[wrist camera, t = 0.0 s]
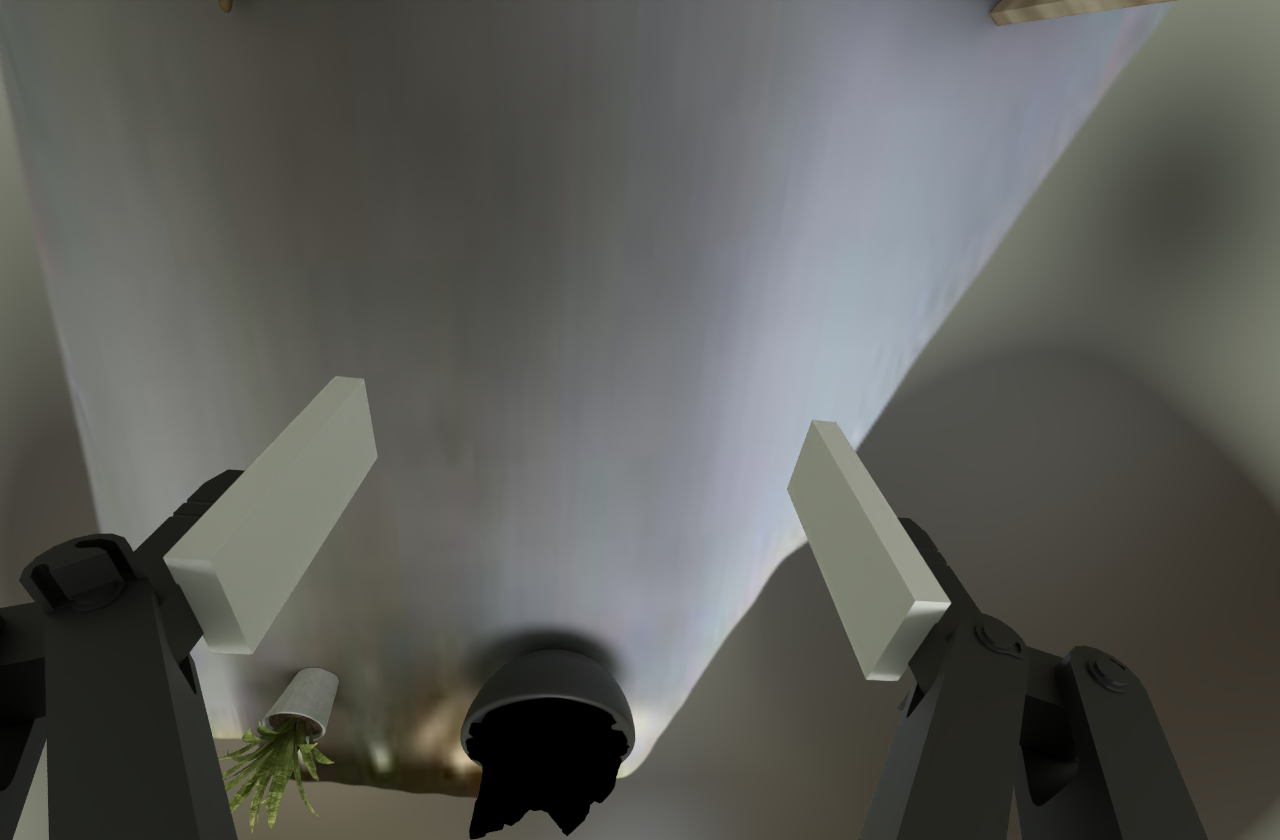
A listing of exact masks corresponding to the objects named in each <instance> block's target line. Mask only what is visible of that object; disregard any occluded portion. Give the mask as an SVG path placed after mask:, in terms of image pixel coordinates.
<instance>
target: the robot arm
mask: <svg viewBox="0 0 1280 840" xmlns="http://www.w3.org/2000/svg"><path fill="white" fill-rule="evenodd" d="M376 459H377V451H376V445H375V440H374V434H373V428H372V423H371V417H370V411H369V405H368V400H367V394H366V388H365V382H364V379H360V378H349V377H338V376H335V377H334V378H333V379H332V380H331V381H330V382H329V383H328V384H327V385H326V387H325V388H324V389H323V390H322V391H321V392H320V393H319V394H318V395H317V396H316V397H315V398H314V399H313V400H312V401H311V402H310V403H309V404H308V405H307V406H306V408H305V409H304V410H303V411H302V412H301V413H300V414H299V415H298V416H297V417H296V418H295V419H294V420H293V421H292V422H291V423H290V424H289V425H288V426H287V428H286V429H285V430H284V431H283V432H282V433H281V434H280V435H279V436H278V437H277V438H276V439H275V440H274V441H273V442H272V443H271V444H270V445H269V446H268V448H267V449H266V450H265V451H264V452H263V453H262V454H261V455H260V456H259V457H258V458H257V459H256V460H255V461H254V462H253V463H252V464H251V465H250V466H249V467H248V469H247V470H246V471H242V470H227V471H225V472H223V473H221V474H219V475H218V476H216V477H214V478H212V479H211V480H209V481H207V482H205V483H204V484H203V485H202V486H201V487H200V488H199V489H198V490H197V491H196V492H195V493H194V494H193V495H191V496H190V497H189V498H188V499H187V503H183V504H182V505H181V506H180V507H179V508H178V509H177V510H176V511H175V512H174V513H173V514H174V515H173V517H169V518H168V519H167V520H166V521H165V522H164V523H163V524H162V525H161V526H160V527H159V528H158V529H157V530H156V531H155V532H154V533H153V534H152V535H151V536H150V537H148V538H147V539H146V540H145V541H144V542H143V543H142V544H141V545H140V546H139V547H138V548H137V549H136V550H135V551H134V552H133V550H132V548H131V547H130V545H129V543H128V542H127V541H126V539H125V538H124V537H121V536H118V535H115V534H92V535H88V536H83V537H79V538H74V539H72V540H69V541H67V542H64V543H61V544H59V545H56V546H54V547H52V548H51V549H49V550H47V551H46V552H44V553H42V554H41V555H39V556H37V557H36V558H35V559H34V560H33V561H32V562H31V563H30V564H29V565H28V566H27V567H26V568H24V570H23V572H22V575H21V577H20V580H19V581H20V583H21V584H22V585H23V586H24V588H25V589H26V590H27V592H28V593H29V594H30V596H31V597H32V598H33V600H34V601H35V602H33V603H27V604H21V605H15V606H9V607H4V608H0V840H12V839H13V836H14V833H15V830H16V827H17V824H18V821H19V818H20V816H21V812H22V810H23V807H24V804H25V801H26V797H27V795H28V792H29V789H30V786H31V783H32V780H33V777H34V774H35V771H36V768H37V765H38V762H39V759H40V756H41V753H42V750H43V747H44V745H45V742H46V739H47V772H48V811H49V812H48V816H49V840H238V839H237V835H236V831H235V827H234V822H233V818H232V814H231V810H230V806H229V802H228V798H227V794H226V790H225V786H224V782H223V777H222V774H221V769H220V765H219V761H218V757H217V753H216V749H215V745H214V741H213V737H212V732H211V728H210V724H209V720H208V716H207V712H206V708H205V704H204V700H203V696H202V692H201V688H200V683H199V679H198V675H197V671H196V667H195V663H194V660H193V659H192V657H191V655H190V651H191V650H192V649H193V647H194V646H195V645H196V643H197V642H198V641H199V639H200V638H201V637H202V635H203V637H204V639H205V641H206V642H207V644H208V646H209V648H210V650H211V652H212V653H229V654H253V653H254V651H255V649H256V648H257V646H258V645H259V643H260V642H261V640H262V638H263V637H264V635H265V634H266V632H267V631H268V629H269V627H270V626H271V624H272V623H273V621H274V619H275V618H276V616H277V615H278V613H279V612H280V610H281V608H282V607H283V605H284V604H285V602H286V601H287V599H288V597H289V596H290V594H291V593H292V591H293V590H294V588H295V586H296V585H297V583H298V582H299V580H300V579H301V577H302V575H303V574H304V572H305V571H306V569H307V568H308V566H309V564H310V563H311V561H312V560H313V558H314V556H315V555H316V553H317V552H318V550H319V549H320V547H321V545H322V544H323V542H324V541H325V539H326V538H327V536H328V534H329V533H330V531H331V530H332V528H333V527H334V525H335V523H336V522H337V520H338V519H339V517H340V516H341V514H342V512H343V511H344V509H345V508H346V506H347V505H348V503H349V501H350V500H351V498H352V497H353V495H354V493H355V492H356V490H357V489H358V487H359V486H360V484H361V482H362V481H363V479H364V478H365V476H366V475H367V473H368V471H369V470H370V468H371V467H372V465H373V464H374V462H375V460H376ZM787 490H788V493H789V495H790V497H791V500H792V502H793V505H794V507H795V509H796V512H797V514H798V517H799V519H800V521H801V524H802V526H803V529H804V531H805V534H806V536H807V538H808V541H809V543H810V546H811V548H812V550H813V553H814V555H815V557H816V560H817V562H818V565H819V567H820V570H821V572H822V574H823V577H824V579H825V581H826V584H827V586H828V589H829V591H830V594H831V596H832V598H833V601H834V603H835V606H836V608H837V611H838V613H839V615H840V618H841V620H842V623H843V625H844V628H845V630H846V632H847V635H848V637H849V640H850V642H851V644H852V647H853V649H854V652H855V654H856V657H857V659H858V661H859V664H860V666H861V669H862V671H863V673H864V676H865V678H866V680H888V681H898V680H899V678H900V677H901V675H902V674H903V672H904V671H905V670H906V668H907V667H908V665H909V666H910V668H911V670H912V672H913V674H914V676H915V679H916V681H917V682H916V683H915V684H914V686H913V687H912V688H911V690H910V691H909V693H908V694H907V696H906V697H905V698H904V700H903V701H902V702H901V704H900V705H899V706H898V709H899V710H901V711H903V713H902V716H901V719H900V722H899V725H898V727H897V730H896V733H895V736H894V739H893V742H892V745H891V748H890V750H889V753H888V756H887V759H886V762H885V765H884V768H883V771H882V773H881V776H880V779H879V782H878V785H877V788H876V791H875V793H874V797H873V799H872V802H871V805H870V808H869V811H868V814H867V816H866V819H865V823H864V825H863V828H862V831H861V834H860V837H859V840H1006V837H1007V830H1008V822H1009V815H1010V808H1011V800H1012V793H1013V785H1014V789H1015V795H1016V801H1017V808H1018V814H1019V821H1020V827H1021V834H1022V840H1208V838H1207V836H1206V833H1205V831H1204V828H1203V826H1202V823H1201V821H1200V819H1199V816H1198V814H1197V812H1196V809H1195V807H1194V804H1193V802H1192V800H1191V797H1190V795H1189V792H1188V790H1187V787H1186V785H1185V783H1184V780H1183V778H1182V775H1181V773H1180V770H1179V768H1178V766H1177V763H1176V761H1175V759H1174V756H1173V754H1172V752H1171V749H1170V746H1169V744H1168V742H1167V739H1166V737H1165V734H1164V732H1163V730H1162V727H1161V725H1160V722H1159V720H1158V717H1157V715H1156V713H1155V710H1154V708H1153V705H1152V703H1151V701H1150V698H1149V696H1148V693H1147V691H1146V689H1145V688H1144V686H1143V685H1142V683H1141V681H1140V680H1139V678H1138V677H1137V676H1136V675H1135V674H1134V673H1133V672H1132V671H1131V670H1130V669H1129V668H1128V667H1127V666H1125V665H1124V664H1123V663H1121V662H1120V661H1118V660H1117V659H1116V658H1114V657H1113V656H1111V655H1109V654H1107V653H1105V652H1103V651H1101V650H1099V649H1096V648H1092V647H1088V646H1075V647H1074V648H1073V649H1072V650H1071V651H1070V652H1069V653H1068V654H1067V655H1066V656H1065V657H1064V658H1061V657H1059V656H1055V655H1053V654H1049V653H1046V652H1043V651H1040V650H1036V649H1034V648H1031V647H1028V646H1026V645H1025V643H1024V641H1023V639H1022V638H1021V637H1020V636H1019V635H1018V634H1017V633H1016V632H1015V631H1014V630H1013V629H1012V628H1011V627H1009V626H1008V625H1006V624H1005V623H1003V622H1002V621H1000V620H999V619H997V618H994V617H992V616H989V615H987V614H983V613H981V612H980V610H979V609H978V607H977V606H976V605H975V603H974V601H973V600H972V599H971V597H970V596H969V594H968V593H967V591H966V590H965V588H964V587H963V585H962V584H961V582H960V581H959V580H958V578H957V576H956V575H955V574H954V572H953V571H952V569H951V568H950V566H947V562H946V561H945V559H944V558H943V556H942V555H941V553H939V552H938V549H937V547H936V546H935V544H934V543H933V541H932V540H931V539H930V537H929V535H928V534H927V533H926V532H925V531H924V530H922V529H921V528H920V527H919V526H918V525H917V524H916V523H915V522H913V521H912V520H911V519H910V518H897V517H896V515H895V514H894V512H893V511H892V509H891V508H890V506H889V504H888V503H887V502H886V500H885V498H884V497H883V495H882V493H881V492H880V490H879V489H878V487H877V486H876V484H875V483H874V481H873V479H872V478H871V476H870V475H869V473H868V472H867V470H866V468H865V467H864V465H863V464H862V462H861V461H860V459H859V457H858V456H857V454H856V453H855V451H854V450H853V448H852V446H851V445H850V443H849V442H848V440H847V439H846V437H845V436H844V434H843V432H842V431H841V429H840V428H839V426H838V425H837V423H836V422H827V421H816V420H812V422H811V425H810V427H809V430H808V433H807V436H806V438H805V441H804V444H803V447H802V449H801V452H800V455H799V458H798V460H797V463H796V466H795V469H794V471H793V474H792V477H791V480H790V482H789V485H788V488H787Z"/></svg>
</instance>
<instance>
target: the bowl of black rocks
mask: <svg viewBox="0 0 1280 840" xmlns="http://www.w3.org/2000/svg"><path fill="white" fill-rule="evenodd" d="M634 743H635V728H634V723H633V718H632V714H631V710H630V707H629V705H628V702H627V700H626V697H625V695H624V693H623V691H622V690H621V688H620V686H619V685H618V683H617V682H616V681H615V679H614V678H613V677H612V676H611V675H610V673H609V672H608V671H607V670H606V669H604V668H603V667H602V666H601V665H600V664H598V663H597V662H595V661H594V660H592V659H591V658H589V657H587V656H584V655H582V654H579V653H576V652H573V651H569V650H563V649H546V650H540V651H536V652H532V653H528V654H526V655H523V656H521V657H519V658H517V659H515V660H513V661H511V662H510V663H508V664H507V665H505V666H504V667H502V668H501V669H500V670H499V671H498V672H496V673H495V674H494V675H493V676H492V677H491V678H490V679H489V680H488V681H487V683H486V684H485V685H484V686H483V688H482V689H481V690H480V691H479V693H478V695H477V696H476V698H475V699H474V701H473V703H472V704H471V706H470V708H469V710H468V713H467V715H466V717H465V720H464V723H463V725H462V729H461V745H462V747H463V750H464V751H465V753H466V754H467V755H468V757H469V758H470V759H471V760H472V761H474V762H475V763H476V764H478V765H479V766H481V767H482V769H483V773H482V781H481V784H480V791H479V796H478V798H477V800H476V802H475V806H474V812H473V817H472V821H471V826H470V830H469V833H470V839H478V838H481V837H484V836H485V835H486V833H489V832H493V831H498V830H502V829H503V827H504V824H507V825H510V826H512V825H514V824H515V823H516V822H518V821H520V819H521V818H522V817H523V816H524V814H525V813H526V812H528V811H529V810H533V811H538V810H542V811H544V812H547V813H549V815H550V816H551V818H552V819H553V820H554V821H555V822H556V823H557V825H558V826H559V828H561V829H562V832H563V833H564V834H566V836H568V835H569V834H570V833H571V832H572V831H573V830H575V829H576V827H578V826H579V825H580V824H581V823H582V822H583V821H584V820H585V818H586V815H587V814H588V813H589V809H590V805H591V804H592V803H593V802H594V801H596V802H598V803H602V802H603V801H604V800H605V799H606V798H607V797H608V795H609V794H610V793H611V792H612V790H613V789H614V787H615V782H616V776H617V774H618V769H619V767H620V764H621V763H622V762H623V761H624V760H625V759H626V758H627V757H628V756H629V755H630V753H631V752H632V750H633V747H634Z"/></svg>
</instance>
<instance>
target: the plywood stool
mask: <svg viewBox="0 0 1280 840" xmlns="http://www.w3.org/2000/svg"><path fill="white" fill-rule="evenodd" d="M1169 1H1176V0H1001V1H1000V2H999V3H998V4H997V5H996V7H995V8H994V9H993V10H992V11H991V12H990V13H989V15H990V16H991V17H992V19H993V20H994V21H995V23H996V24H997V26H1000V25H1007V24H1014V23H1021V22H1028V21H1035V20H1042V19H1050V18H1057V17H1064V16H1071V15H1078V14H1085V13H1092V12H1099V11H1106V10H1113V9H1120V8H1127V7H1134V6H1141V5H1148V4H1155V3H1162V2H1169Z"/></svg>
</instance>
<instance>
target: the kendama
mask: <svg viewBox="0 0 1280 840" xmlns="http://www.w3.org/2000/svg"><path fill="white" fill-rule="evenodd" d="M218 1H219V5H220V7H221V9H222V10H223V11H224V12H225V13H229V12H230V11H231V8H232V2H233V0H218Z"/></svg>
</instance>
